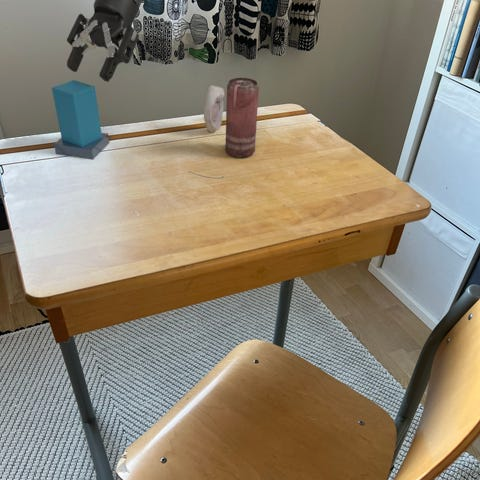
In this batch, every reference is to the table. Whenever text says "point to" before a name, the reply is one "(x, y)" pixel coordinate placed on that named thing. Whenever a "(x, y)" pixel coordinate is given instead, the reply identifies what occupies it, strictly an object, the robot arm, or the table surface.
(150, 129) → the table surface
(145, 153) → the table surface
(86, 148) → the peg stand
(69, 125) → the tall teal pillar
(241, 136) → the can
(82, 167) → the table surface
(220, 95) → the fossil
